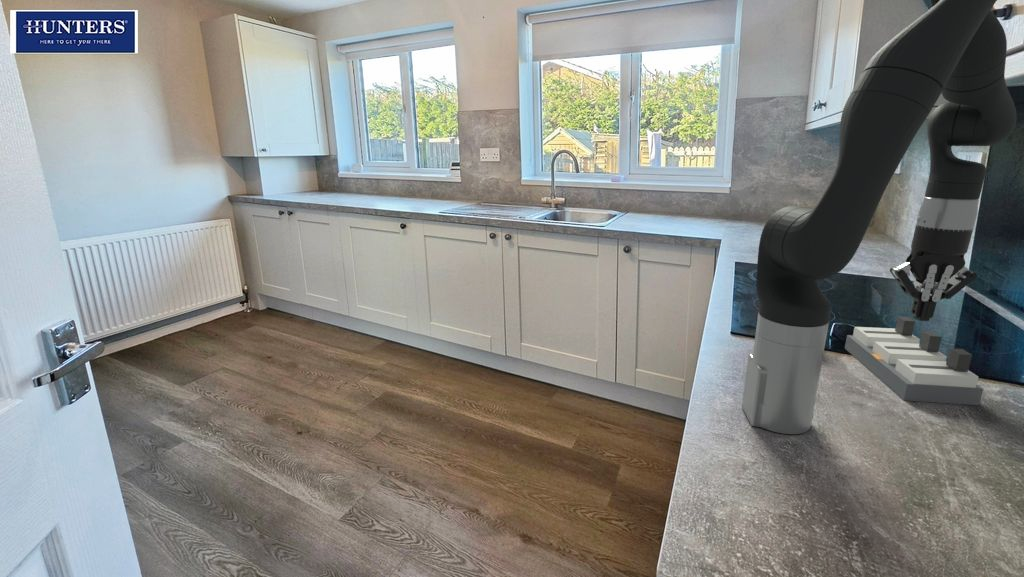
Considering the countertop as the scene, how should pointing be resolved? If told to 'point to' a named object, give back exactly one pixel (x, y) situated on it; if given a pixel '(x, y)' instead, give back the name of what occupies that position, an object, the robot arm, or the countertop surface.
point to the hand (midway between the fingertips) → (920, 319)
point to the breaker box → (912, 367)
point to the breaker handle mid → (930, 341)
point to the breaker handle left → (905, 326)
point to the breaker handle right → (959, 360)
